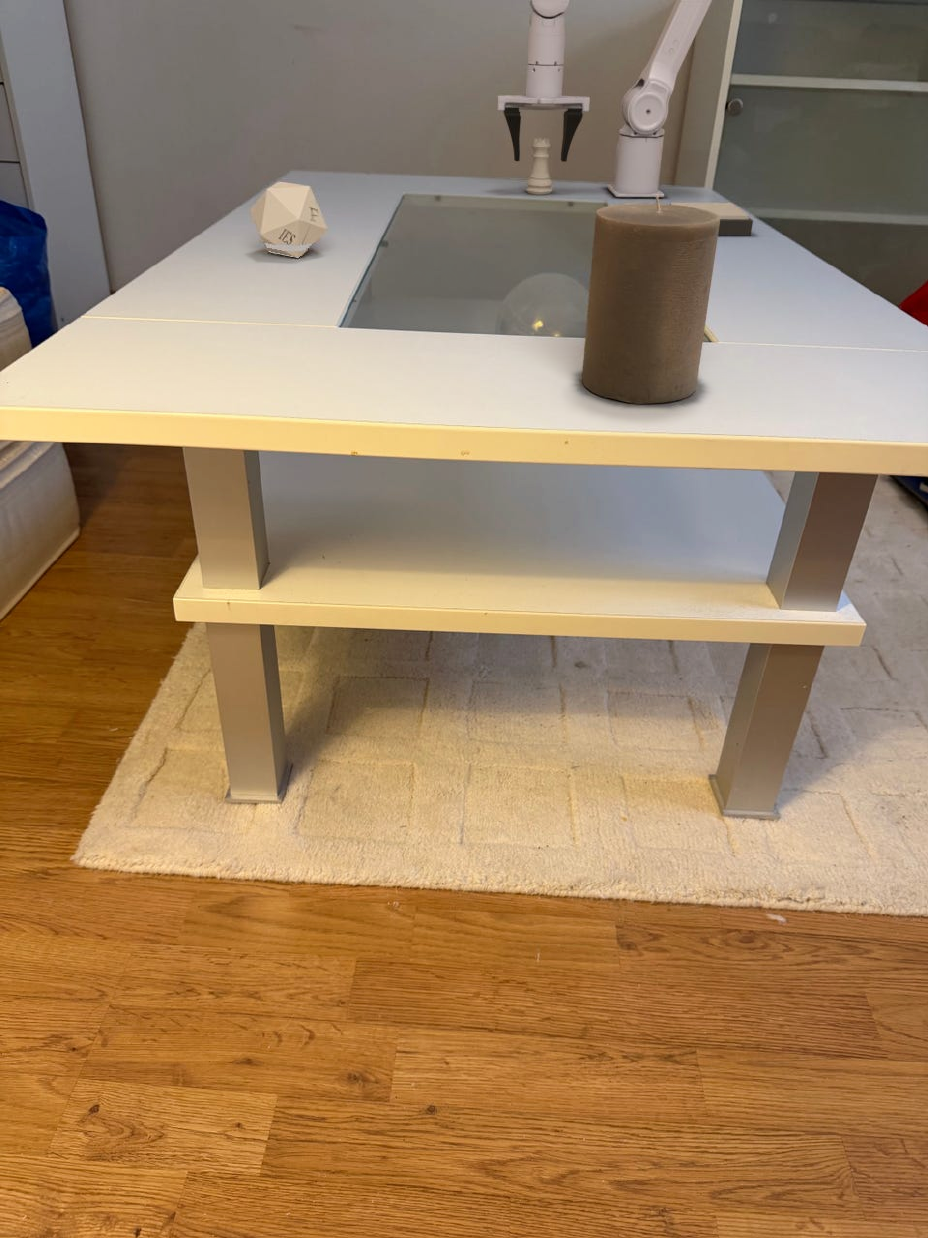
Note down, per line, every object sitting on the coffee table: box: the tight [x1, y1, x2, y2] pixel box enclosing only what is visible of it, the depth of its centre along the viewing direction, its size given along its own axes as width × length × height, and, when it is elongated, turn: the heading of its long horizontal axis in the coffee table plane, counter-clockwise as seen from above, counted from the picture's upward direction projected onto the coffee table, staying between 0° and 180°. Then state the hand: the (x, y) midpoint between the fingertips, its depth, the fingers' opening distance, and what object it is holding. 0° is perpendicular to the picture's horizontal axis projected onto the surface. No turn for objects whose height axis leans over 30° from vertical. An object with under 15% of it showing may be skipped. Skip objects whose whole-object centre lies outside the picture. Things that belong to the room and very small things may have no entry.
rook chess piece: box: [525, 137, 553, 196], centre depth 156 cm, size 4×4×8 cm
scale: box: [669, 202, 754, 237], centre depth 135 cm, size 10×10×3 cm
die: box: [249, 181, 329, 258], centre depth 118 cm, size 8×9×10 cm
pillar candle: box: [581, 195, 720, 405], centre depth 77 cm, size 10×10×15 cm
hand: (540, 160), depth 155 cm, fingers open, 7 cm apart
